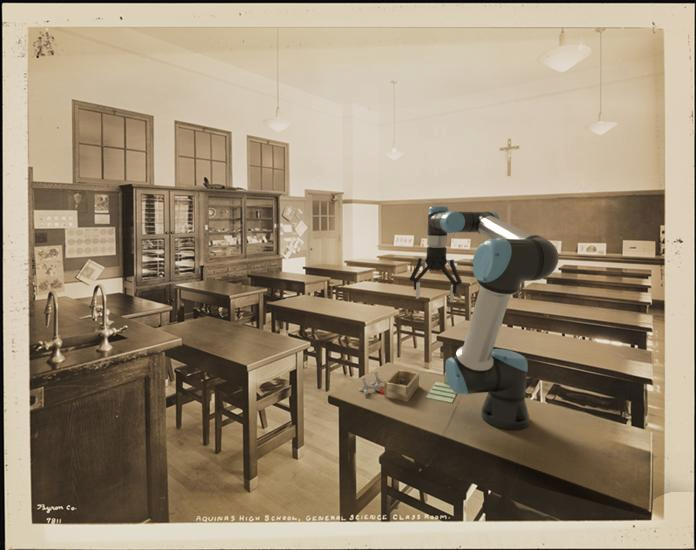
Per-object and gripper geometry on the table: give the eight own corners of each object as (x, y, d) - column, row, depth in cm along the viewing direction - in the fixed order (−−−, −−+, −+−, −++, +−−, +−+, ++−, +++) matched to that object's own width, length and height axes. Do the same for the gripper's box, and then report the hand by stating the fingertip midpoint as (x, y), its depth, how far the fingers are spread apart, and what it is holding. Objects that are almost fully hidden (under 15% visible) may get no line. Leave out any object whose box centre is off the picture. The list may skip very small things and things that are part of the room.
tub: (418, 387, 162) (419, 373, 161) (407, 403, 149) (408, 387, 148) (397, 383, 166) (397, 369, 165) (384, 398, 153) (384, 382, 152)
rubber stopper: (406, 386, 162) (406, 379, 162) (404, 388, 160) (405, 381, 159) (400, 385, 163) (401, 378, 163) (398, 387, 161) (399, 380, 160)
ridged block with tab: (462, 383, 167) (463, 371, 167) (451, 404, 148) (452, 391, 147) (439, 378, 171) (439, 367, 171) (425, 399, 152) (426, 386, 151)
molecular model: (392, 398, 162) (373, 383, 167) (399, 381, 160) (379, 368, 165) (372, 408, 150) (352, 393, 156) (379, 391, 148) (358, 376, 154)
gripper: (471, 247, 157) (468, 301, 160) (408, 244, 167) (407, 295, 171) (467, 248, 150) (464, 305, 153) (403, 245, 161) (401, 298, 164)
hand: (434, 299), depth 162 cm, fingers open, 13 cm apart
